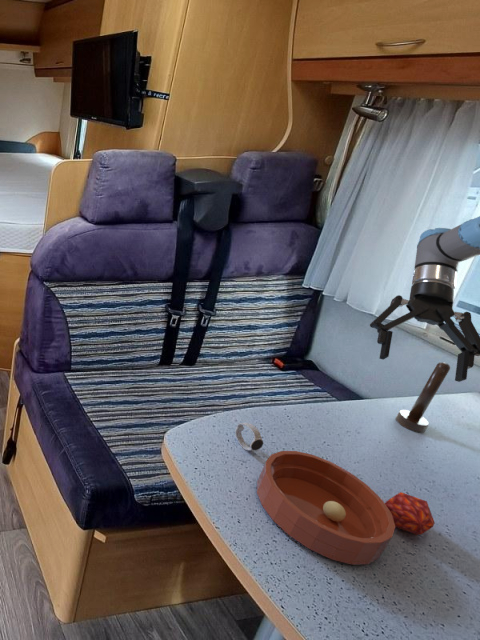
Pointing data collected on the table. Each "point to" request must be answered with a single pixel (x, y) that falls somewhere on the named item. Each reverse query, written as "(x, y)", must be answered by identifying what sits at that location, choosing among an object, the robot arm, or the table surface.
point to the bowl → (307, 507)
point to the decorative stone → (410, 513)
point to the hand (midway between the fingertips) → (421, 368)
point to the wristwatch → (257, 440)
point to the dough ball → (334, 511)
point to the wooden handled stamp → (423, 401)
